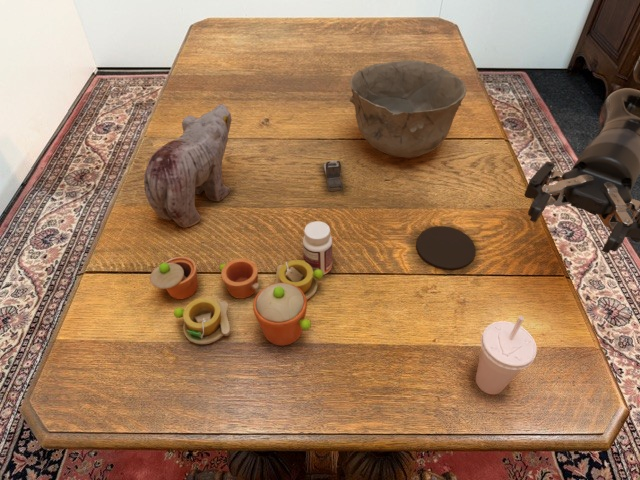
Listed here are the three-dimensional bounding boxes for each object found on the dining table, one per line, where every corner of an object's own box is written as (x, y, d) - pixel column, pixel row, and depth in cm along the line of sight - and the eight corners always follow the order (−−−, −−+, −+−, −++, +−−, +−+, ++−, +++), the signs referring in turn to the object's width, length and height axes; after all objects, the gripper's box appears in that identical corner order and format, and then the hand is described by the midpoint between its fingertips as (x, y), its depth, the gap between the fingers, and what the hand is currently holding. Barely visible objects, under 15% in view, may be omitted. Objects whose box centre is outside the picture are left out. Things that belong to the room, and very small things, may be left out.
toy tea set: (323, 270, 78) (323, 228, 71) (322, 352, 67) (321, 312, 60) (166, 269, 78) (151, 227, 72) (140, 350, 68) (119, 310, 61)
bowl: (332, 135, 106) (333, 71, 96) (412, 112, 113) (421, 50, 103) (385, 190, 93) (393, 122, 82) (472, 159, 100) (490, 93, 89)
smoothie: (519, 373, 65) (555, 313, 55) (507, 413, 61) (542, 355, 51) (473, 353, 67) (499, 291, 57) (458, 389, 63) (484, 329, 53)
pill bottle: (325, 252, 81) (325, 216, 75) (336, 271, 78) (337, 235, 72) (299, 259, 80) (297, 223, 74) (309, 280, 77) (308, 243, 71)
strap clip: (323, 166, 98) (322, 149, 95) (337, 165, 99) (337, 148, 96) (328, 192, 92) (328, 174, 89) (343, 190, 93) (344, 173, 90)
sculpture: (241, 168, 98) (231, 102, 87) (217, 238, 84) (201, 169, 73) (183, 165, 99) (166, 100, 88) (149, 234, 84) (124, 165, 74)
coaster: (475, 233, 84) (475, 230, 84) (474, 274, 77) (475, 272, 77) (418, 224, 86) (418, 222, 85) (413, 264, 79) (413, 262, 78)
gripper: (565, 125, 65) (521, 183, 56) (681, 162, 59) (651, 234, 50) (547, 169, 71) (504, 228, 62) (651, 207, 64) (620, 280, 55)
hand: (570, 231), depth 56 cm, fingers open, 8 cm apart
